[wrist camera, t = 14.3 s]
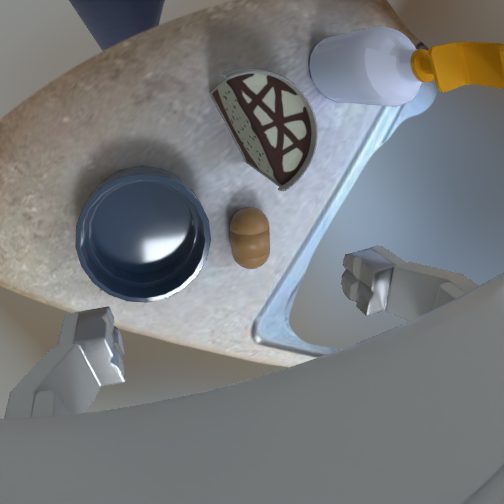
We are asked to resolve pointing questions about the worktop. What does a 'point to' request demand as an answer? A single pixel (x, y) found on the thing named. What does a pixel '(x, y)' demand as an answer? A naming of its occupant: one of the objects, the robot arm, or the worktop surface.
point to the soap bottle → (398, 66)
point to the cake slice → (268, 122)
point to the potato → (250, 237)
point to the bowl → (142, 235)
